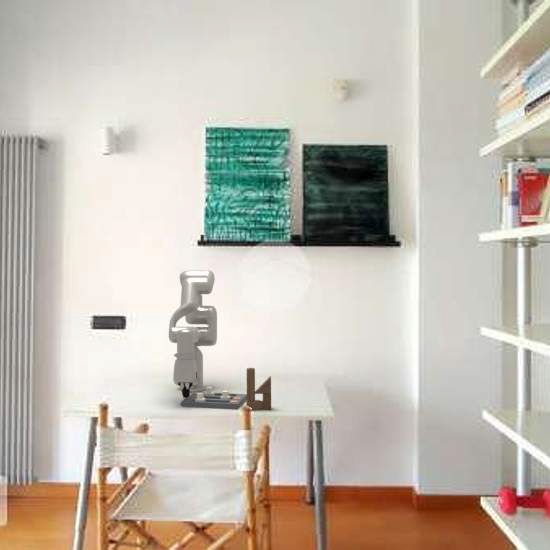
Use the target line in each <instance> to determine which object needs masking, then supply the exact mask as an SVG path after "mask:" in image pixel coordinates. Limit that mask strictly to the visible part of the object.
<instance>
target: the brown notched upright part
mask: <svg viewBox="0 0 550 550" xmlns="http://www.w3.org/2000/svg"><path fill="white" fill-rule="evenodd" d="M246 394H247V400H246V401H245V402H246V406H249V407H251V408H252V410H251V411H271V410H272V376H271V375H270V376H269V377H268V378H267V379H265V381H263V382H262V384H261V385H260V386H259V387H258V388H257V389H256V369H255V367H248V368H246ZM256 395H262V400H259V399H256Z"/></svg>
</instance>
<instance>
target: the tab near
mask: <svg viewBox="0 0 550 550" xmlns="http://www.w3.org/2000/svg"><path fill="white" fill-rule="evenodd" d="M195 401H196V402H206V398H204V393H198V394H197V398H196V399H195Z"/></svg>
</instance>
